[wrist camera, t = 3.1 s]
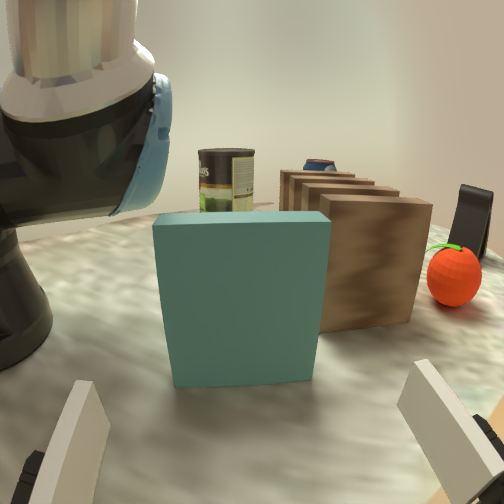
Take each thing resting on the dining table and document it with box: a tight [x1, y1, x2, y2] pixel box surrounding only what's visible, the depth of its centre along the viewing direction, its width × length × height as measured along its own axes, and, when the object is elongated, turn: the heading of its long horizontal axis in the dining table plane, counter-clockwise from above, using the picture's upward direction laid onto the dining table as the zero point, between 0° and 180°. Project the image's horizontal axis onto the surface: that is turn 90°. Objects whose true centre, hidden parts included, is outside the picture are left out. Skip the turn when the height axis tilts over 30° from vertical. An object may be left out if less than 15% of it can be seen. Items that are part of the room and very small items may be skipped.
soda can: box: [303, 159, 337, 172], centre depth 64 cm, size 7×7×12 cm
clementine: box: [425, 244, 482, 307], centre depth 31 cm, size 8×7×7 cm
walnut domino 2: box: [289, 175, 374, 211], centre depth 39 cm, size 10×2×12 cm, turn 96°
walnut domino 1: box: [279, 170, 355, 211], centre depth 44 cm, size 10×2×12 cm, turn 96°
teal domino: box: [152, 211, 332, 387], centre depth 21 cm, size 10×2×12 cm, turn 96°
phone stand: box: [447, 184, 494, 261], centre depth 44 cm, size 9×6×12 cm, turn 126°
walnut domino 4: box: [319, 194, 433, 333], centre depth 27 cm, size 10×2×12 cm, turn 96°
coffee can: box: [198, 148, 255, 213], centre depth 58 cm, size 10×10×14 cm
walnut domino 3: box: [301, 183, 400, 211], centre depth 33 cm, size 10×2×12 cm, turn 96°
